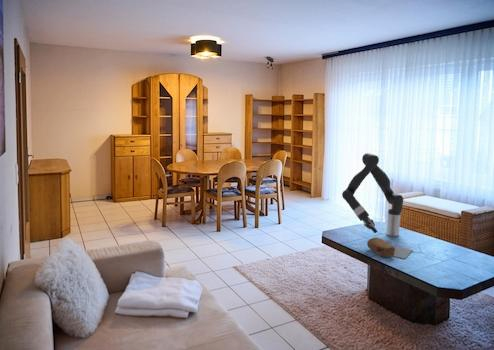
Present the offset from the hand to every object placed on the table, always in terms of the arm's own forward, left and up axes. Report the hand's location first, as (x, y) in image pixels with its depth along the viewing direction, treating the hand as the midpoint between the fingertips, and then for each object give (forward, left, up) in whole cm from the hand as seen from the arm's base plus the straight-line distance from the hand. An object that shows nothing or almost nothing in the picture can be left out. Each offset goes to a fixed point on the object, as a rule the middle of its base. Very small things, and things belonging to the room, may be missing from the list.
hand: (376, 232), depth 292 cm
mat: (+1, +14, -11) cm, 18 cm away
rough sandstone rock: (+4, -1, -6) cm, 8 cm away
